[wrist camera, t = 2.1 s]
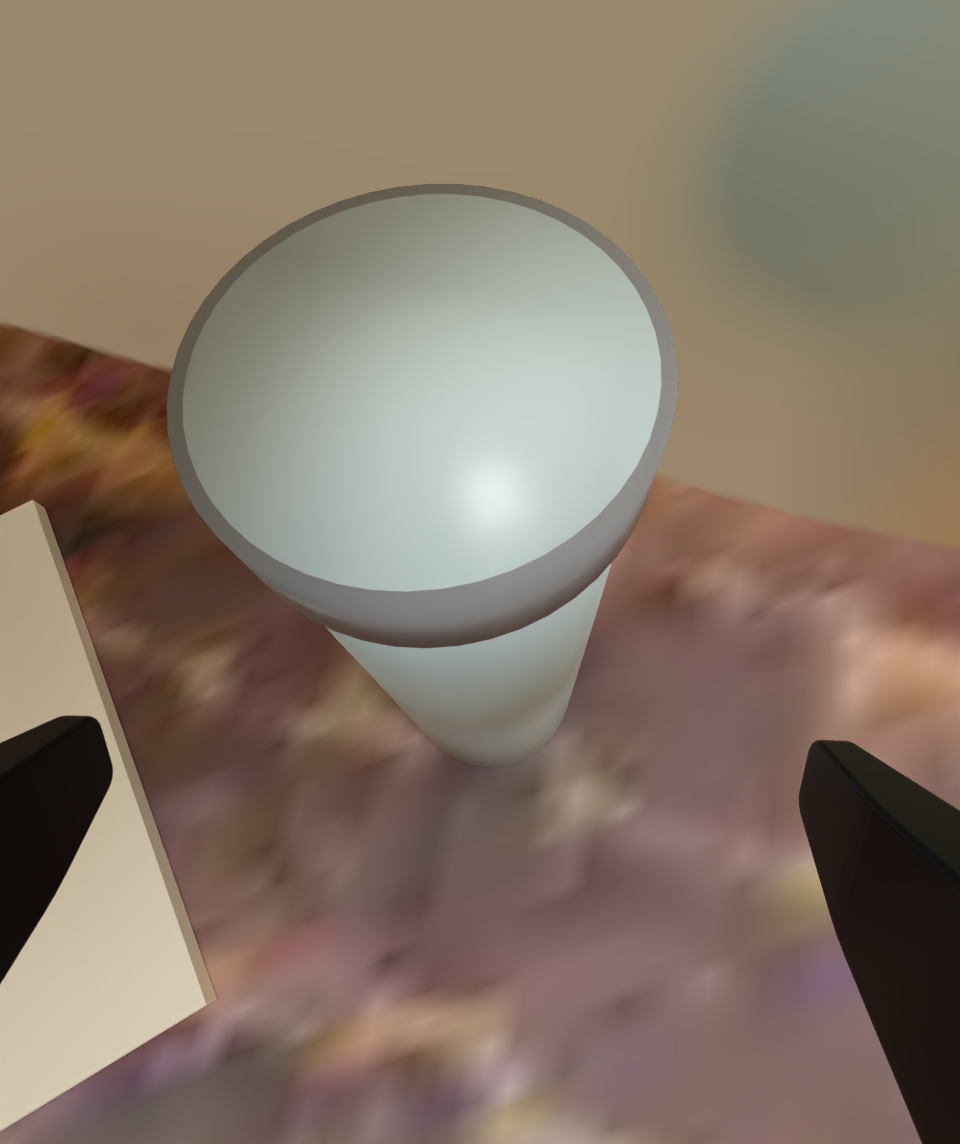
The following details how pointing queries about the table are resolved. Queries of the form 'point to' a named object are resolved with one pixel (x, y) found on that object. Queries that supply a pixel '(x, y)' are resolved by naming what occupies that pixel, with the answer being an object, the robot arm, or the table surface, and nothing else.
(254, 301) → the tube
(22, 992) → the card
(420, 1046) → the table surface
